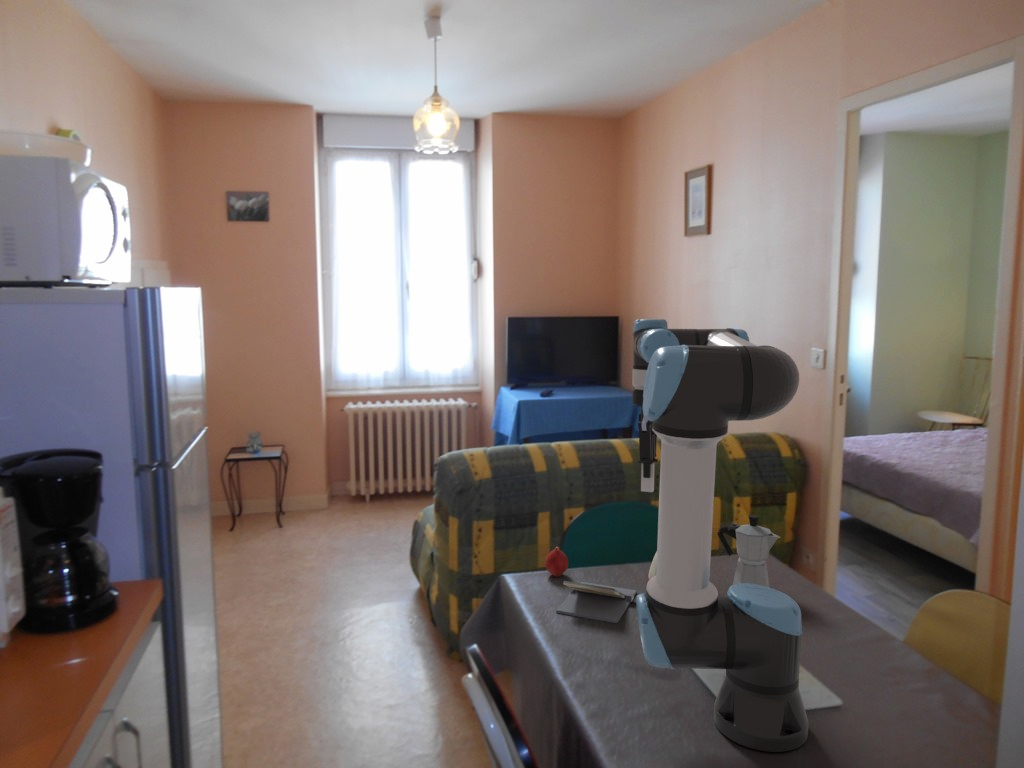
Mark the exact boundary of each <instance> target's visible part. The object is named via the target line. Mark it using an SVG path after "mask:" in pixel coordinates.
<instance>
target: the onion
mask: <svg viewBox="0 0 1024 768" xmlns="http://www.w3.org/2000/svg"><path fill="white" fill-rule="evenodd" d="M544 562H545V568H546V570H547V572H549V573H550V575H552V576H553V577H556V578H559V577H560V576H562V575H564V573H565V572H566V571H567V570H568V567H569V559H568V556H567V555H566V554H565V553H564V551H562V550H561V549H560V547H559V546H556V547H554V549H553V550H551V551H549V553H548V554H547V556H546V557H545V561H544Z"/></svg>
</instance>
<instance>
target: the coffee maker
mask: <svg viewBox="0 0 1024 768" xmlns="http://www.w3.org/2000/svg"><path fill="white" fill-rule="evenodd" d="M748 520H749V521H748V522H749V524H741V525H739V524H738V523H732V524H730V525H722V526H720V528H719V529H718V531H717V533H716V534H717V536H718V538H719V540H720V542H721V544H722V547H723V548H724V549H725V551H726V553H727V555H728V557H731V556H732V555H733V554H734V552H733V550H732V549H731V546H730V544H729V543H728V541H727V539H726V538H725V536H724V534H726V535H728V536H729V537H731V538H733V539H734V540H735V543H736V544H735V545H736V553H737V555H738V559H737V561H736V567H735V572H734V575H733V576H734V577H733V583H732V585H734V584H735V585H736V584H738V583H750V584H757V585H762V586H766V587H769V588H771V587H770V582H769V581H770V579H769V574H768V573H769V572H768V564H767V561H766V560H767V559H768V557H769V555H770V550H771V549H772V547H773V546H774V544H775V543H776V541H777V540H778V539H780V538H781V536H779V535H777V534H776V533H773V532H772V531H771V530H770V528H767V527H763V526H760V525H758V522H759V516H758V515H755V514H750V515H748Z"/></svg>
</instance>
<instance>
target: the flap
mask: <svg viewBox="0 0 1024 768" xmlns="http://www.w3.org/2000/svg"><path fill="white" fill-rule="evenodd" d="M562 585H564V586H566V587H568V588H569V587H570V588H572V589H574V590H577V591H579V592H585V593H591V594H598V595H604V596H610V597H616V598H622V599H626V595H624V594H622V593H621V592H619V591H617V590H615V589H613V588H607V587H601V586H594V585H588V584H581V583H580V582H574V581H568V580H563V583H562Z"/></svg>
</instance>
